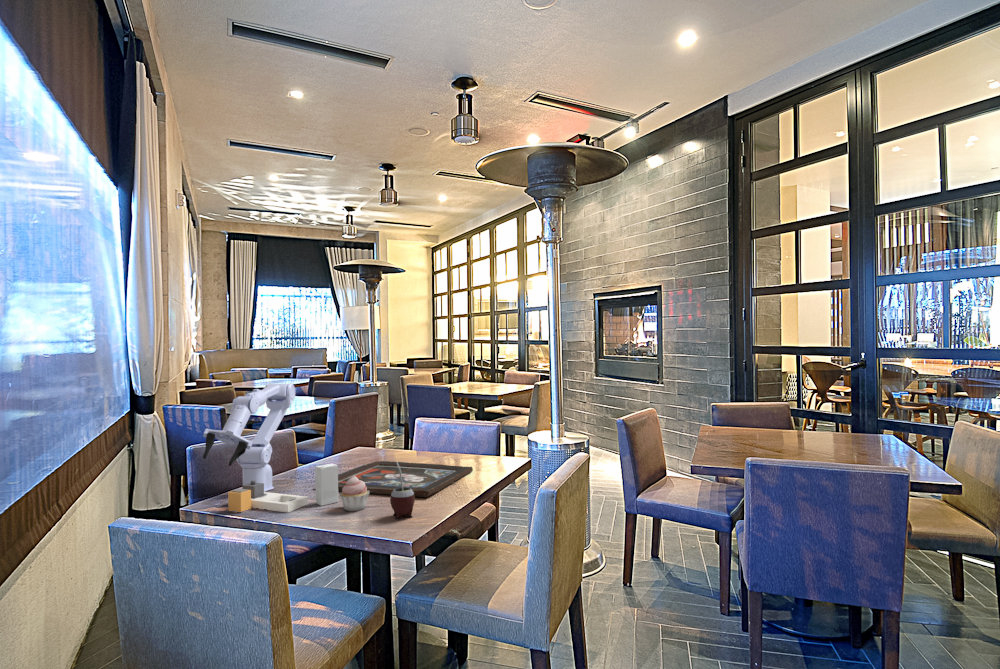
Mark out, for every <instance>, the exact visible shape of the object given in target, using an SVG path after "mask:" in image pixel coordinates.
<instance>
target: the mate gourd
mask: <svg viewBox="0 0 1000 669" xmlns="http://www.w3.org/2000/svg"><path fill="white" fill-rule="evenodd" d="M395 462H396V463H397V466H398V469H399V474H400V481H401V487H400V488H396V489H394V490H393V492H392V493H391V495H390V498H389V499H390V500H389V503H390V505H391V508H392V510H393V512H394V513H392V514H393V517H395V520H396V521H399V520H400V519H403V518H407V519H412V518H413V515H412V513H413V509H414V505H415V500H416V499H415V498H416V496H414V492H413V491H412V489H411V488H408V487H403V483H402V475H401V474H402V472H401V469H400V466H399V464H398V462H399V461H395Z"/></svg>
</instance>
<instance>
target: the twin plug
mask: <svg viewBox="0 0 1000 669" xmlns="http://www.w3.org/2000/svg"><path fill="white" fill-rule="evenodd" d="M241 489H248V490H251V499H255V498H258V497H260V496H263V495H264V483H256V481H251V483H248V484H245V485H243V484H242V487H241Z"/></svg>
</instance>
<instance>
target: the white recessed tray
mask: <svg viewBox="0 0 1000 669" xmlns="http://www.w3.org/2000/svg"><path fill="white" fill-rule="evenodd" d="M307 505H309V496H305V495H297V494H296V495H295V494H285V493H277V492H268V491H265V492H264V495H263V496H260V497H258V498H255V499H251V509H256V508H259V509H258V510H264V509H267V511H274V512H282V513H290V512H292V511H295V510H297V509H300V508H302V507H304V506H307Z"/></svg>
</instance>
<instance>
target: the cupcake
mask: <svg viewBox="0 0 1000 669" xmlns="http://www.w3.org/2000/svg"><path fill="white" fill-rule="evenodd" d="M369 495H370V493H369V491H367V487H366V485H365V483H364V482H363V481H361V480H359V479H358V478H357V477H355V476H353V477H352V478H350V479H349V480H348V481H347V482H346V485H345V486H344V487H343V489H342V491H341V492H340V493H339V492H338V497H339V498H340V499H341V502H342V505H343V506H342V507H343V509H344V510H345V511H347V512H359V511H361V510H364V509H365V508H366V505H367V501H368V498H369Z"/></svg>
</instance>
